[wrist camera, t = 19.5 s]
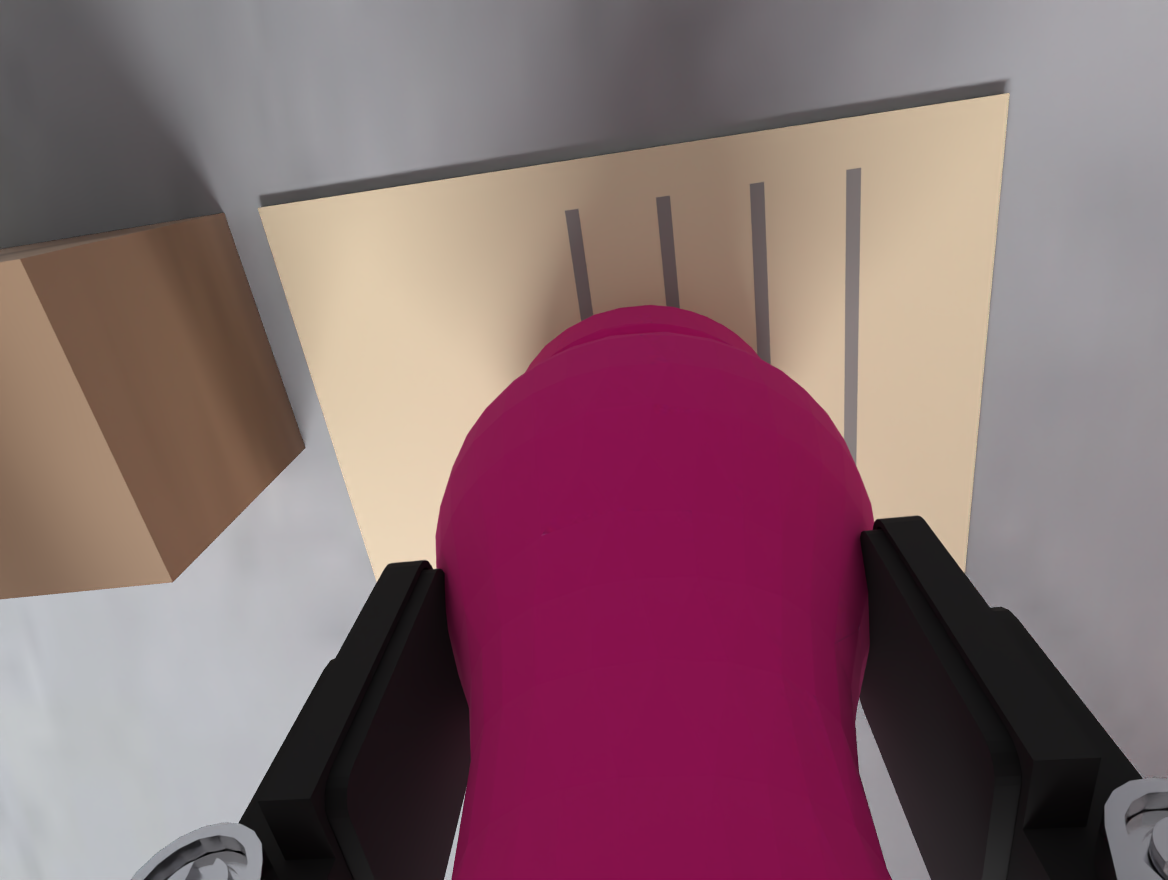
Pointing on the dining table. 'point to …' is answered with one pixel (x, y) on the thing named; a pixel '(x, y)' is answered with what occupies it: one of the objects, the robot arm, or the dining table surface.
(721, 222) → the letter
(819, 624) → the pepper mill
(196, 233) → the block
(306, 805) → the robot arm
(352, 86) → the dining table surface
